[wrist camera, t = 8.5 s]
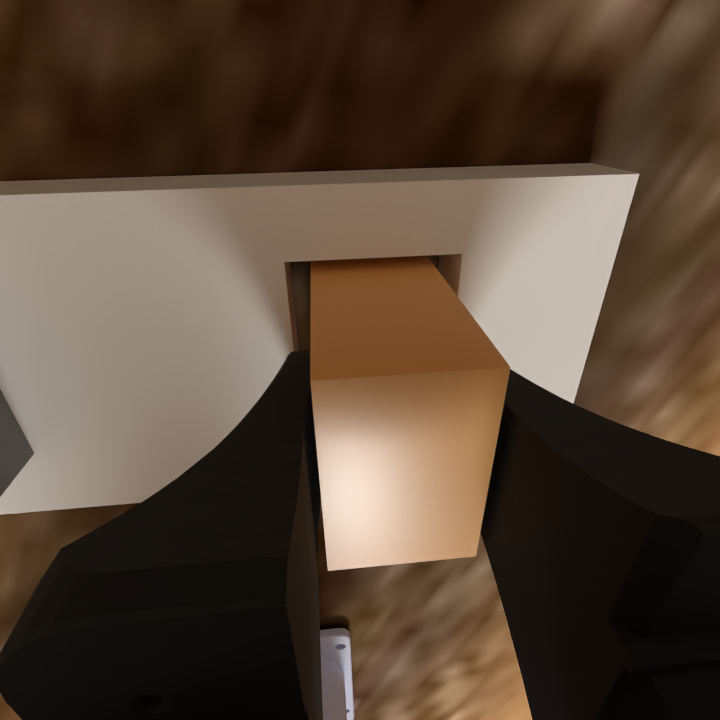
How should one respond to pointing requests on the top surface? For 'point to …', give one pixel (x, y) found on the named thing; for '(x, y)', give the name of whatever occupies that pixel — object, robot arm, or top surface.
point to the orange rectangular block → (400, 412)
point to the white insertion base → (256, 299)
